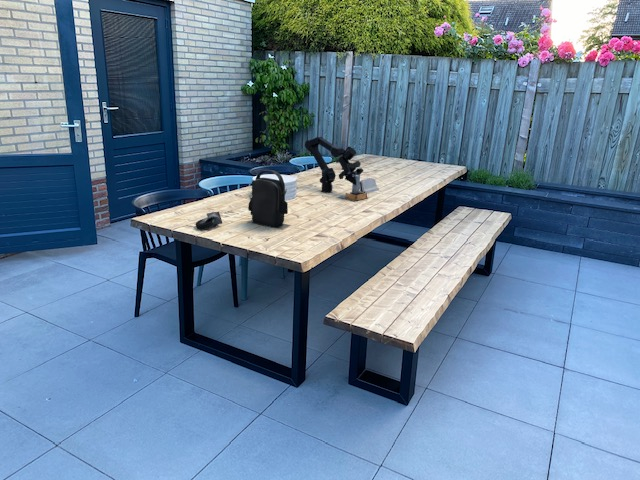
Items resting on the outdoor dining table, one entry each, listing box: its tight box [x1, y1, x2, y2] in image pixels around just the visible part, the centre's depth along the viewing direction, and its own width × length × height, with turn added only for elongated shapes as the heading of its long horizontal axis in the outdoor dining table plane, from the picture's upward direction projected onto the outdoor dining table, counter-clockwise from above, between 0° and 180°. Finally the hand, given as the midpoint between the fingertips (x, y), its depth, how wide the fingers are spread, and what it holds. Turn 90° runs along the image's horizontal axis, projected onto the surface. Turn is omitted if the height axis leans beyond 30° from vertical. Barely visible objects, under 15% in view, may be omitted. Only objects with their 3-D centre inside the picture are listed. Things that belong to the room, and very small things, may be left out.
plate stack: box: [252, 173, 298, 202], centre depth 307 cm, size 28×28×12 cm
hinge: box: [359, 177, 380, 194], centre depth 331 cm, size 17×5×10 cm, turn 141°
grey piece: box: [349, 174, 361, 195], centre depth 307 cm, size 5×5×13 cm
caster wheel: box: [194, 211, 223, 231], centre depth 239 cm, size 7×11×10 cm
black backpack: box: [246, 169, 292, 230], centre depth 245 cm, size 23×9×28 cm, turn 60°
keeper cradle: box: [338, 191, 369, 202], centre depth 310 cm, size 13×14×4 cm
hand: (357, 184), depth 306 cm, fingers closed on grey piece, 3 cm apart
